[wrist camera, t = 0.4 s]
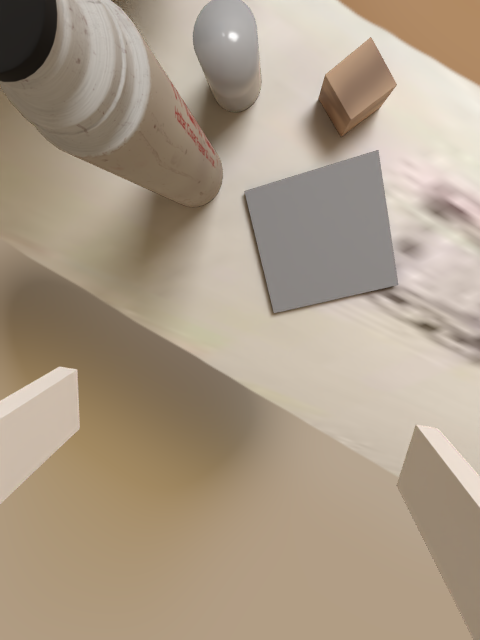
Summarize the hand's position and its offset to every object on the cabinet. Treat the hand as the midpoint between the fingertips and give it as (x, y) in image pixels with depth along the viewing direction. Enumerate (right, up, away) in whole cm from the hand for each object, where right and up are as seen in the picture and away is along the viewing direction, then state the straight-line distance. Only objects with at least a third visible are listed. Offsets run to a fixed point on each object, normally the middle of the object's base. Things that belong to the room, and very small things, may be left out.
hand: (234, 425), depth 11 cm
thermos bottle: (-6, +23, +27) cm, 36 cm away
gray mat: (+11, +15, +26) cm, 32 cm away
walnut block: (+13, +29, +23) cm, 39 cm away
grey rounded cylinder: (0, +32, +23) cm, 40 cm away
